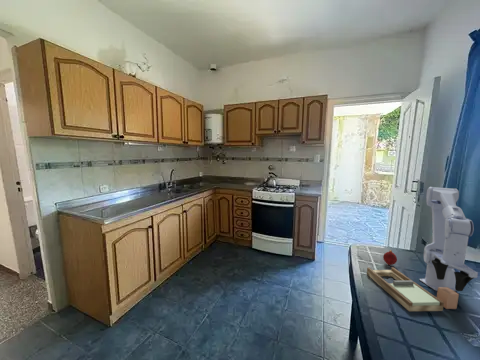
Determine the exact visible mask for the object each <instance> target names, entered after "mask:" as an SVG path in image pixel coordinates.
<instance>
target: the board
mask: <svg viewBox="0 0 480 360" xmlns="http://www.w3.org/2000/svg"><path fill="white" fill-rule="evenodd" d="M366 275H367V276H368V277H370V278H371V279H372V280H373V281H374V282H375V283H376V284H377V285H378V286H379V287H381V288H382V289H383V290H384V291H385V292H386V293H388V295H390V296H391V297H392V298H393V299H394V300H395V301H396V302H398V303H399V304H400V305H402V307H403V308H405V309H406V311H408V312H443V311H444V307H443V306H444V302H442V301H441V300H439V299H438V298H437V296H436V295H434V294H432V292H429V291H428V290H427V289H425V288H423V286H421V285H420V284H418V283H417V282H415V281H413V280H412V279H411V278H410V277H408V276H406V275H405V274H404V273H402V272H401V271H400V270H398V269H396V268H395V267H393V266H392V267H391V269H372V268H370V267H369V266H368V267H367V268H366ZM383 277H391V278H393V279H395V280H412V281H413V282H414V284H415V285H416V286H418V287H419V288H420V289H422V290H423V291H425V292H426V293H427V294H429V295H430V296H432V297H433V298H435V299H436V300H437V301H439V302H440V305H424V306H412V304H413V303H412V302H411V301H410V300H408V299H407V298H406V297H405V296H403V295H402V294H401V293H400V292H399V291H397V290H396V289H395V288H394V287H393V286H391V285H390V284H391V283H389V282H388V281H386V280H385V279H384V278H383Z"/></svg>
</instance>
